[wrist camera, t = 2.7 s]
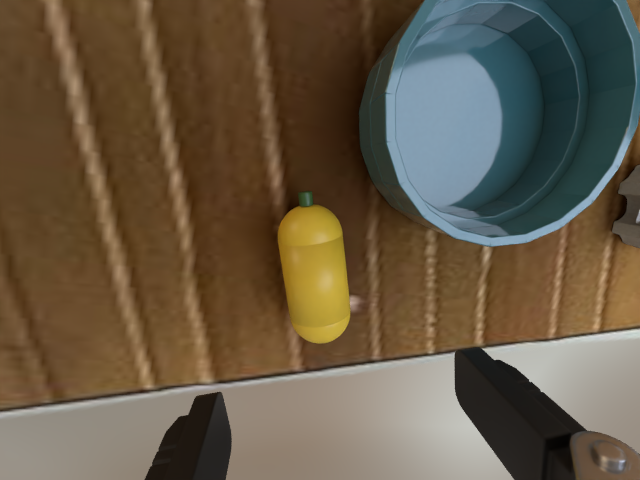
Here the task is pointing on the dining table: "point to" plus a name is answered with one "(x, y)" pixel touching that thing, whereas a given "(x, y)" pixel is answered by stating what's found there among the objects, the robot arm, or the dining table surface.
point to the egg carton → (630, 210)
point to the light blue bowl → (501, 114)
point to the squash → (314, 271)
